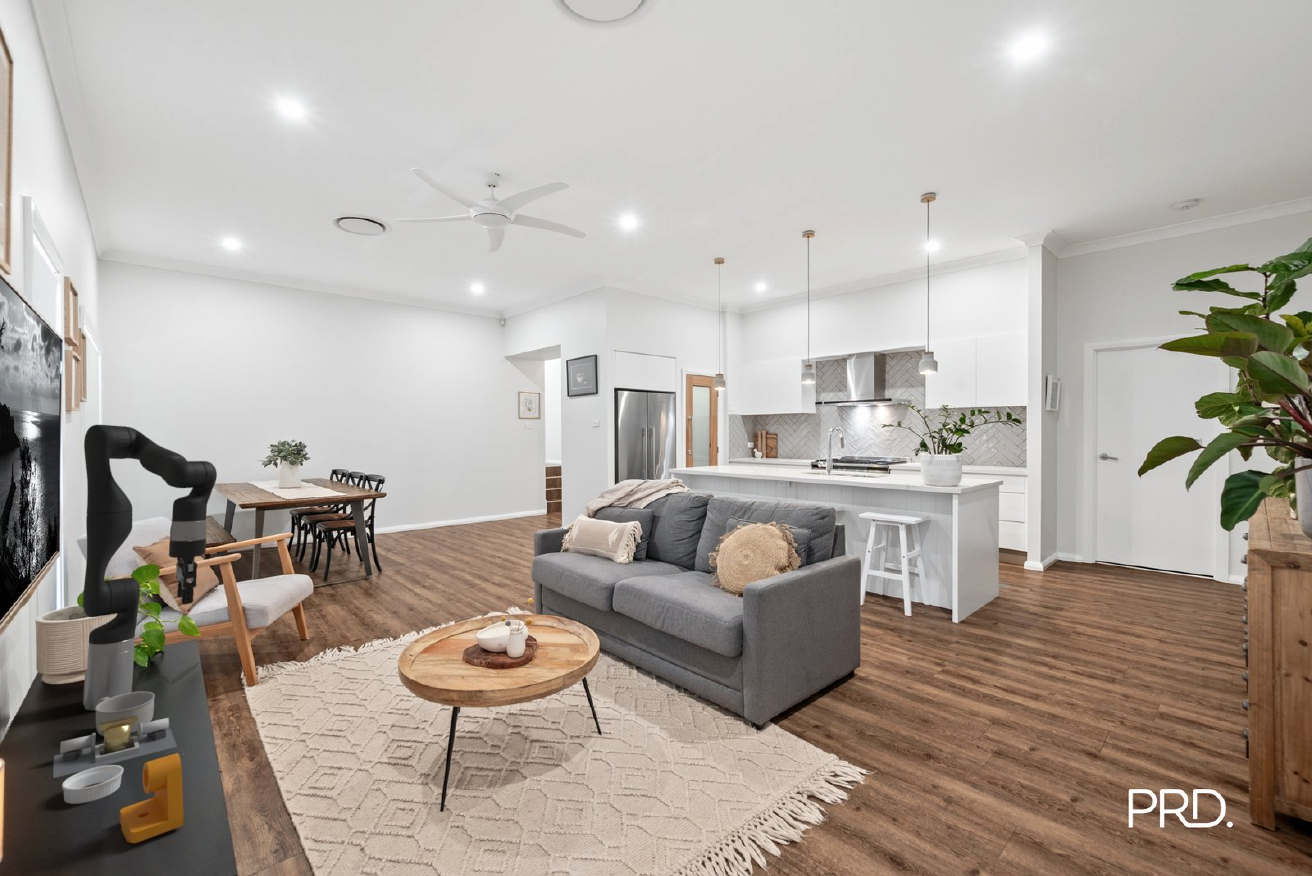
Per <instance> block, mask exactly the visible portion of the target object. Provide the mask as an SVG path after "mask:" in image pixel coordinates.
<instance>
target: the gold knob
mask: <svg viewBox="0 0 1312 876" xmlns="http://www.w3.org/2000/svg"><path fill="white" fill-rule="evenodd" d="M132 723H137V715H136V716H132V717H127V718H122V719H118V720H113V721H108V722H104V723H99V731H101V730H105V735H104V736H103V737H104V739H103V744H104V751H103V754H104V755H105V754H110V753H114V752H118V751H122V750H126V749H129V748H130V737H131V734H132V733H131V724H132Z"/></svg>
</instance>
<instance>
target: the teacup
mask: <svg viewBox="0 0 1312 876" xmlns="http://www.w3.org/2000/svg"><path fill="white" fill-rule="evenodd" d="M155 697H156V695H155V694H154V692H151V691H144V690H142V691H132V692H131V693H126V694H122V695H118V696H115V697H112V698H109V697H104V698H102V699H100V700H99V701H98V702H97V706H96V707H95V710H94V711H95V728H96V731H97V734H99V735H100V736H102V737H104V735H105V730H101V731H99V723H104V722H108V721H113V720H118V719H122V718H127V717H132V716H136V715H137V723H132V724H131V734H133V733H137V726H138V723H141V722H142V724H143V723H147V722H151V721H152V720H153V717H154V712H155V711H154V710H155Z"/></svg>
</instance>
